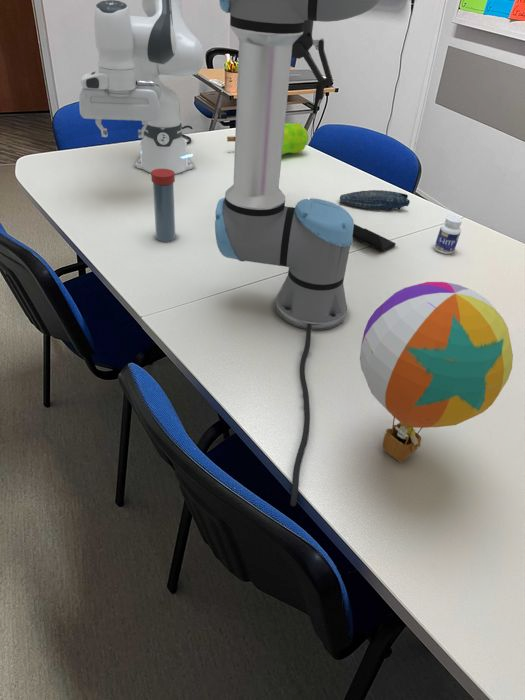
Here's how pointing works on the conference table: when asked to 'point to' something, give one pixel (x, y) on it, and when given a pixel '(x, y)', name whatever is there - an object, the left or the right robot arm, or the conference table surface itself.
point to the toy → (434, 359)
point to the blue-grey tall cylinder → (164, 212)
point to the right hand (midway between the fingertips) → (288, 109)
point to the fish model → (376, 199)
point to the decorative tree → (291, 138)
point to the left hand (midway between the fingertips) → (123, 136)
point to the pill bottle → (448, 235)
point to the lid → (162, 176)
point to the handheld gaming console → (372, 239)
